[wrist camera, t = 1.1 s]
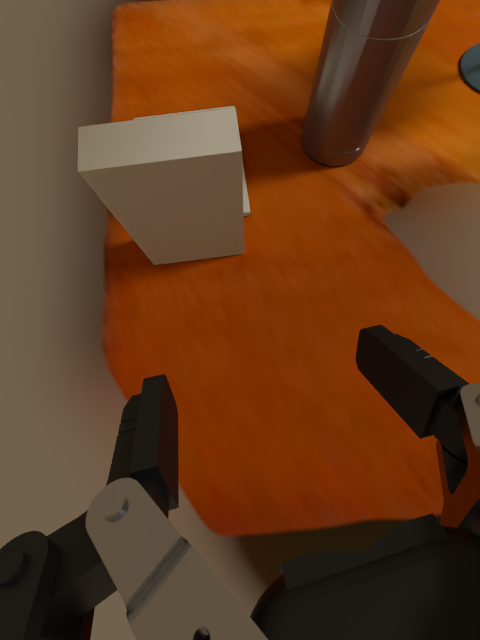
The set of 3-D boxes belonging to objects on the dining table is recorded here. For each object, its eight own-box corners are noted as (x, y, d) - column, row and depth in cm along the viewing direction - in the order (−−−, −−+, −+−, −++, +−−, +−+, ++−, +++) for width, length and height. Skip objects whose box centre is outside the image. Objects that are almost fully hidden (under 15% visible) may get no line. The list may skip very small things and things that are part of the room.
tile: (152, 235, 36) (78, 124, 20) (240, 224, 36) (234, 104, 20) (154, 265, 35) (77, 171, 19) (244, 253, 35) (241, 150, 19)
